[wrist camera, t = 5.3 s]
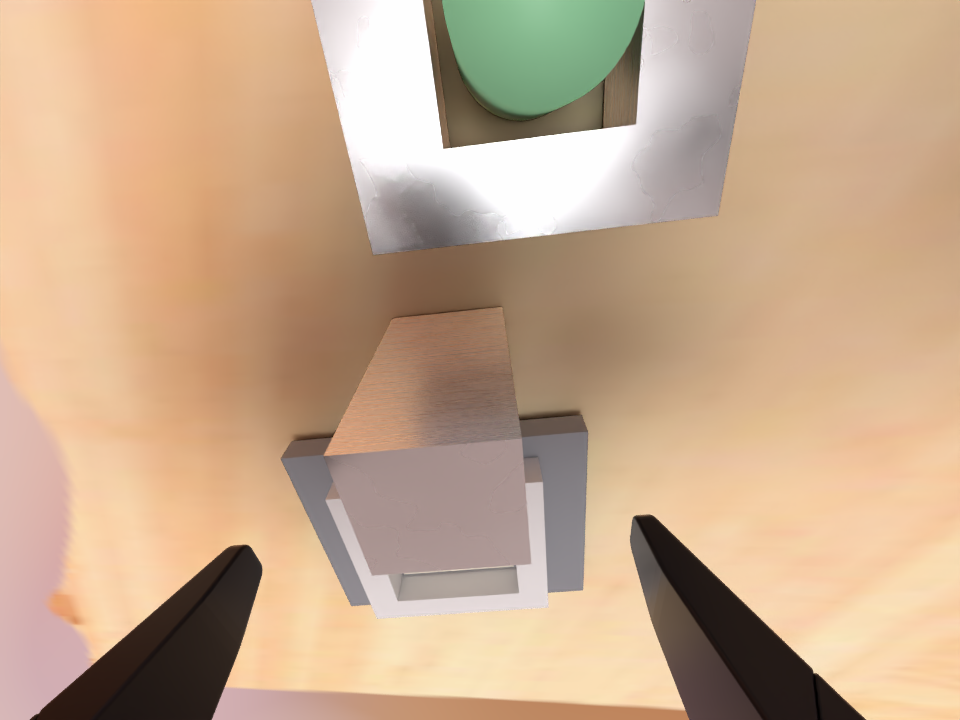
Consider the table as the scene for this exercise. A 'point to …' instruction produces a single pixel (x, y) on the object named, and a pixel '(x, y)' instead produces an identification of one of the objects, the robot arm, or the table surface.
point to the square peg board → (541, 160)
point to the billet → (435, 449)
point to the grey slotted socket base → (554, 568)
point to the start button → (537, 49)
